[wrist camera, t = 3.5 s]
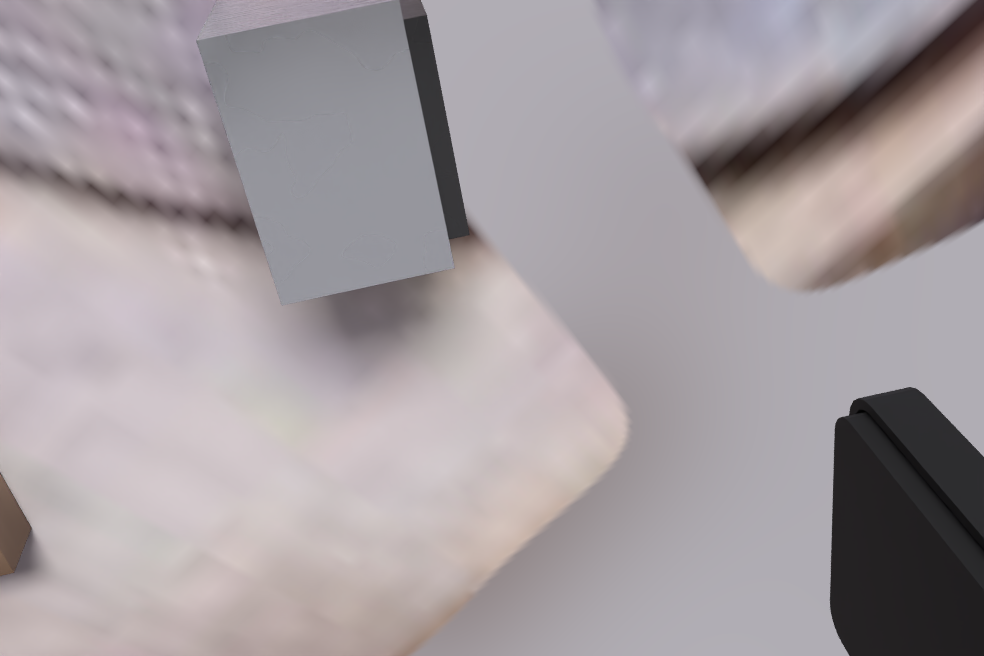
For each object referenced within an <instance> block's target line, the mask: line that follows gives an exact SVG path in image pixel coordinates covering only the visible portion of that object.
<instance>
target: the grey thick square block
mask: <svg viewBox="0 0 984 656" xmlns="http://www.w3.org/2000/svg"><path fill="white" fill-rule="evenodd" d="M196 41H197V44H198V48H199V51H200V54H201V57H202V60H203V63H204V66H205V69H206V72H207V75H208V78H209V82H210V85H211V88H212V91H213V94H214V97H215V100H216V103H217V106H218V109H219V113H220V116H221V119H222V122H223V125H224V128H225V131H226V134H227V137H228V140H229V144H230V147H231V150H232V153H233V156H234V159H235V162H236V165H237V168H238V171H239V174H240V178H241V181H242V184H243V187H244V190H245V193H246V196H247V199H248V202H249V205H250V209H251V212H252V215H253V218H254V221H255V224H256V227H257V230H258V233H259V236H260V240H261V243H262V246H263V249H264V252H265V255H266V258H267V261H268V264H269V267H270V270H271V274H272V277H273V280H274V283H275V286H276V289H277V292H278V295H279V298H280V301H281V305H286V304H291V303H295V302H300V301H305V300H309V299H314V298H319V297H323V296H328V295H332V294H337V293H342V292H346V291H351V290H356V289H360V288H365V287H369V286H374V285H379V284H383V283H388V282H393V281H397V280H402V279H406V278H411V277H416V276H420V275H425V274H430V273H434V272H439V271H443V270H448V269H453V268H455V267H454V262H453V258H452V253H451V248H450V243H449V239H453V238H457V237H462V236H467V235H469V230H468V225H467V219H466V214H465V209H464V204H463V199H462V194H461V189H460V184H459V178H458V173H457V168H456V163H455V158H454V153H453V147H452V143H451V137H450V133H449V127H448V122H447V116H446V111H445V106H444V101H443V96H442V91H441V86H440V80H439V75H438V71H437V65H436V60H435V55H434V50H433V45H432V39H431V34H430V29H429V24H428V19H427V15H426V12H425V10H424V7H423V5H422V2H421V0H217V1H216V3H215V5H214V7H213V9H212V11H211V13H210V15H209V16H208V18H207V20H206V22H205V24H204V26H203V28H202V30H201V32H200V34H199V36H198V38H197V40H196Z"/></svg>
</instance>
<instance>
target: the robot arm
mask: <svg viewBox="0 0 984 656" xmlns="http://www.w3.org/2000/svg"><path fill="white" fill-rule="evenodd" d="M834 442H835V443H834V479H833V514H832V550H831V553H832V554H831V587H830V608H831V614H832V619H833V622H834V625H835V629H836V631H837V634H838V636H839V638H840V639H841V642H842V644H843V645H844V647H845V649H846V650H847V652H848V654H849V656H984V457H983V456H982V455H981V454H980V452H979V451H978V450H977V449H976V448H975V447H974V446H973V445H972V444H971V443H970V442H969V441H968V440H967V439H966V438H965V437H964V436H963V435H962V434H961V433H960V432H959V431H958V430H957V429H956V427H955V426H954V425H953V424H951V422H950V421H949V420H948V419H947V418H946V417H945V416H944V415H943V414H942V413H941V412H940V411H939V410H938V409H937V408H936V407H935V406H934V405H933V404H932V403H931V401H929V399H928V398H927V397H926V396H925V395H924V394H923V393H921V392H920V391H919V390H917V389H915V388H911V387H908V388H904V389H899V390H895V391H890V392H886V393H881V394H876V395H872V396H867V397H863V398H858V399H856V400H854V401H853V403H852V405H851V407H850V414H849V416H845V417H841V418H839V419H838V420H837V422H836V425H835V441H834Z"/></svg>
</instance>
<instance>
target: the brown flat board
mask: <svg viewBox="0 0 984 656" xmlns="http://www.w3.org/2000/svg"><path fill="white" fill-rule="evenodd" d="M30 531H31V527H30V525H29V523H28V521H27V520H26V518H25V516H24V514H23V513H22V511H21V509H20V507H19V506H18V504H17V502H16V500H15V498H14V497H13V495H12V493H11V491H10V490H9V488H8V486H7V484H6V483H5V481H4V479H3V477H2V476H1V474H0V576H2V575H6V574H11V573H14V571H15V569H16V566H17V564H18V561H19V559H20V556H21V553H22V551H23V548H24V546H25V543H26V541H27V538H28V536H29V533H30Z"/></svg>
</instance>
